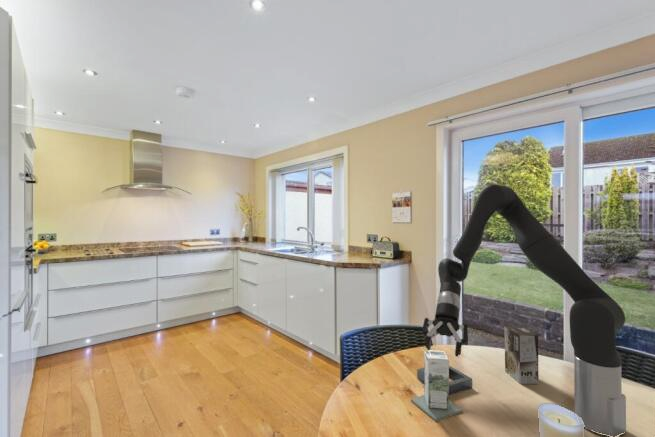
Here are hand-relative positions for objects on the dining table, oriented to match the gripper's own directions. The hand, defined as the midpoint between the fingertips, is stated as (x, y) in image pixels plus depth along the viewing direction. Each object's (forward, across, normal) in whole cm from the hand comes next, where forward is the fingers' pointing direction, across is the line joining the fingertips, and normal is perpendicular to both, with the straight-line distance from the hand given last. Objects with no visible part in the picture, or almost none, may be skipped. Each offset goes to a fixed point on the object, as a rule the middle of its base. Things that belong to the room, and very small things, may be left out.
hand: (442, 352), depth 96 cm
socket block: (+6, 0, +11) cm, 12 cm away
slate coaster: (+16, 0, +1) cm, 16 cm away
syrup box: (+15, 0, +1) cm, 15 cm away
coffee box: (-7, +22, +23) cm, 33 cm away
